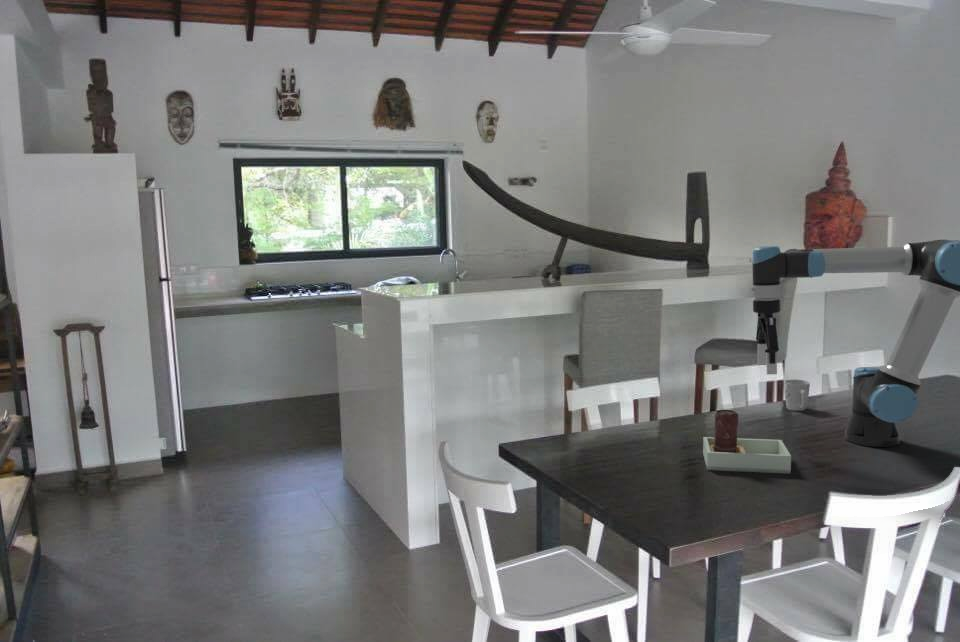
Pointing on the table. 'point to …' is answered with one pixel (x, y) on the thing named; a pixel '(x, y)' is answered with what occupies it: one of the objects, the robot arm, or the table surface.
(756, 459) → the walled box
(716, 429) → the can
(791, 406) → the mug
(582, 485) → the table surface
